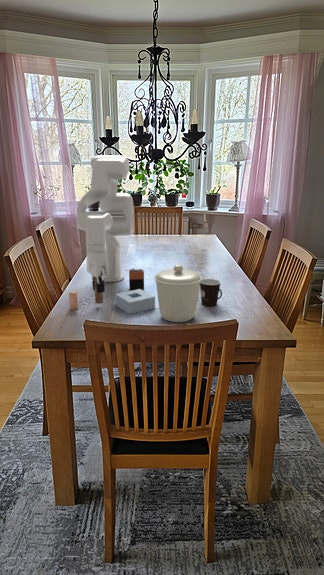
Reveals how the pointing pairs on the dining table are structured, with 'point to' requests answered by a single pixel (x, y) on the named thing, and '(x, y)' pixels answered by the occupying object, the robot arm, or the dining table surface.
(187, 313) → the canister
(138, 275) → the battery
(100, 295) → the long dowel
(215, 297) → the coffee mug
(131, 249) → the dining table surface
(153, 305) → the hole block
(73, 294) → the short dowel
